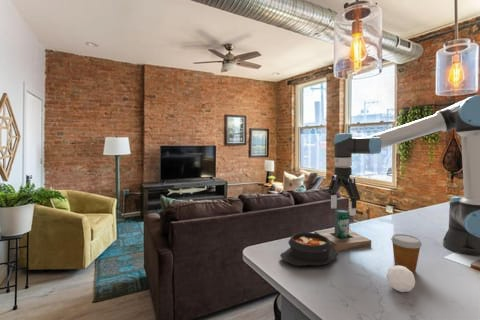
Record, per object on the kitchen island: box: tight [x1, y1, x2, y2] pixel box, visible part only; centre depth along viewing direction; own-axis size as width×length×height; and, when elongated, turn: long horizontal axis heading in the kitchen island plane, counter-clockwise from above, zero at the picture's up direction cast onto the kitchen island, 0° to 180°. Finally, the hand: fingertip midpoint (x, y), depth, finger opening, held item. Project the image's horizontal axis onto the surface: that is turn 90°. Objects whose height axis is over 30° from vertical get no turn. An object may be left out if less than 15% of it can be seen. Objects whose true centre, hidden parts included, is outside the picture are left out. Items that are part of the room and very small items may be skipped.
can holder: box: [313, 228, 372, 252], centre depth 123 cm, size 18×18×3 cm
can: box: [334, 208, 350, 239], centre depth 123 cm, size 6×6×15 cm
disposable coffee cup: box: [390, 233, 423, 274], centre depth 96 cm, size 10×10×12 cm
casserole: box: [279, 232, 339, 267], centre depth 105 cm, size 25×19×8 cm
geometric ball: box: [386, 265, 416, 293], centre depth 83 cm, size 8×8×8 cm
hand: (342, 211), depth 122 cm, fingers open, 13 cm apart
